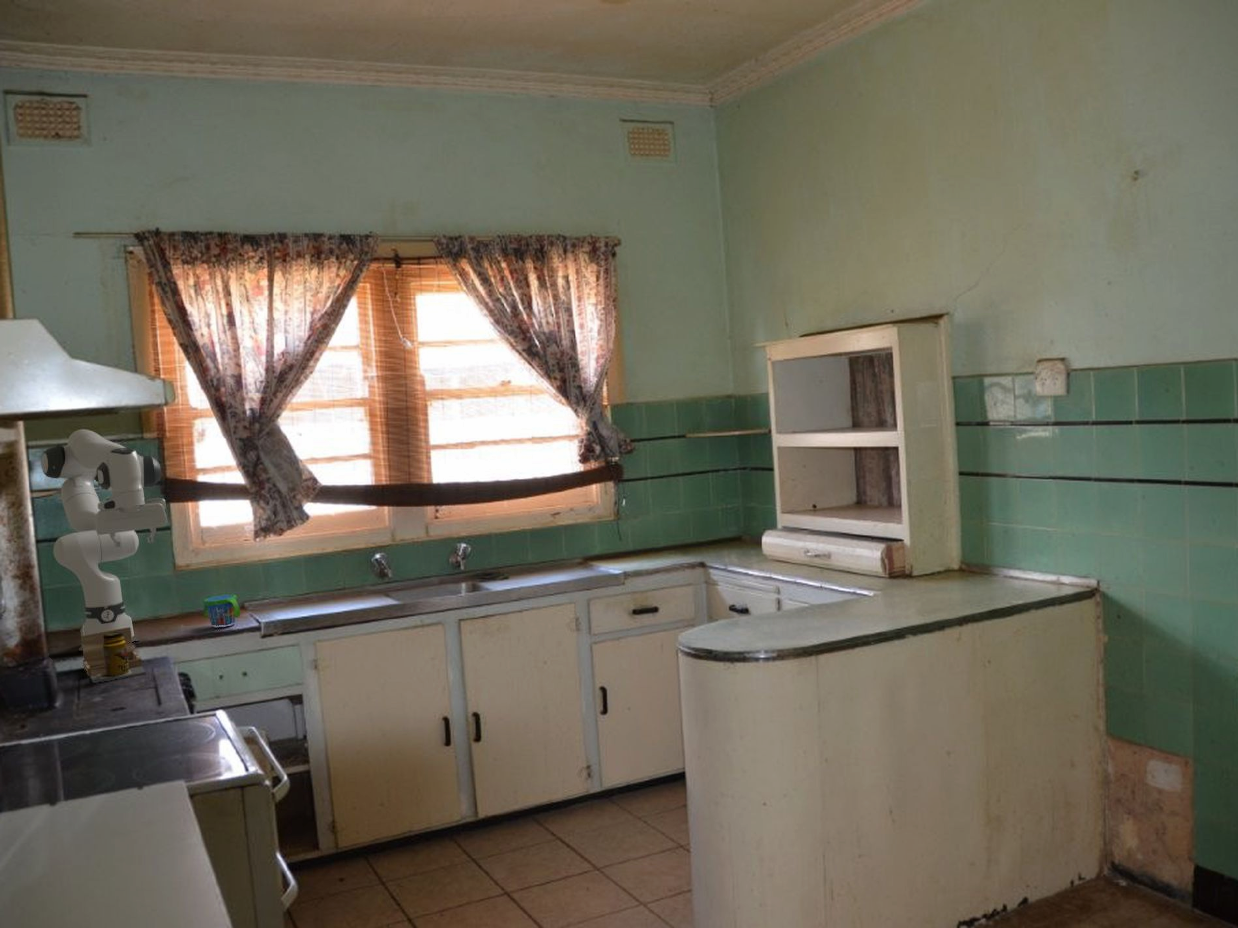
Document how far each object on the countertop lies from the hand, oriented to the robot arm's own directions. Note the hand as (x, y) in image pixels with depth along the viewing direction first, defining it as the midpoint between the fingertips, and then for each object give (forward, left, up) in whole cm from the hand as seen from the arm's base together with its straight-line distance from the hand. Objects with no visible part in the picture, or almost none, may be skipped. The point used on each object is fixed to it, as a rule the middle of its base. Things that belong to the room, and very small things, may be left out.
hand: (134, 545), depth 342 cm
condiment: (+21, -12, -35) cm, 42 cm away
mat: (+21, -11, -35) cm, 42 cm away
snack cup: (-28, +28, -35) cm, 53 cm away
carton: (+7, -11, -35) cm, 37 cm away
